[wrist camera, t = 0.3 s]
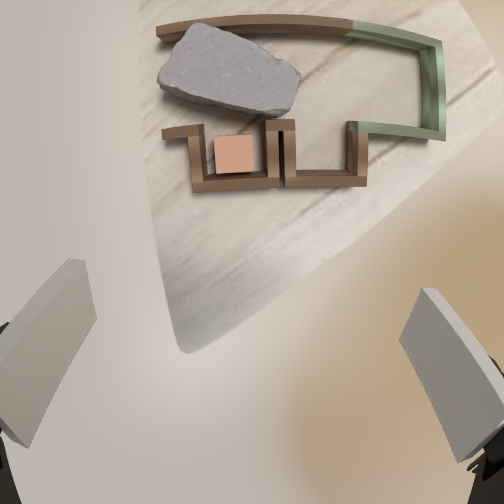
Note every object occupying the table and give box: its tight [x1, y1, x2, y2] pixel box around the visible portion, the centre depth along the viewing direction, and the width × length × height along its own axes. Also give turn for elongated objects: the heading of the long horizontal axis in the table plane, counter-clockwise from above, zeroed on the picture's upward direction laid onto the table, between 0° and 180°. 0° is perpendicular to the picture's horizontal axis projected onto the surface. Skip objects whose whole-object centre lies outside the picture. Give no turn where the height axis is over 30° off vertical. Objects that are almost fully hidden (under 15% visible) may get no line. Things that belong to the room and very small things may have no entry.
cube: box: [214, 133, 254, 174], centre depth 32 cm, size 4×4×4 cm
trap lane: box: [156, 14, 446, 193], centre depth 29 cm, size 20×33×4 cm, turn 93°
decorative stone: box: [157, 22, 301, 118], centre depth 27 cm, size 15×7×10 cm
